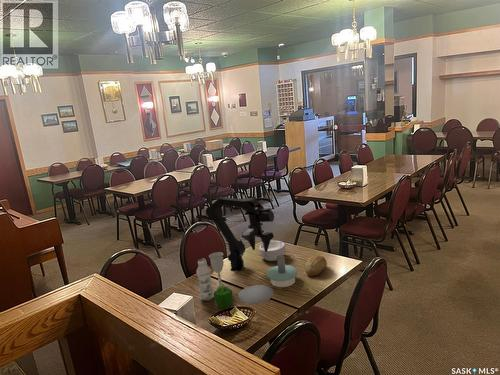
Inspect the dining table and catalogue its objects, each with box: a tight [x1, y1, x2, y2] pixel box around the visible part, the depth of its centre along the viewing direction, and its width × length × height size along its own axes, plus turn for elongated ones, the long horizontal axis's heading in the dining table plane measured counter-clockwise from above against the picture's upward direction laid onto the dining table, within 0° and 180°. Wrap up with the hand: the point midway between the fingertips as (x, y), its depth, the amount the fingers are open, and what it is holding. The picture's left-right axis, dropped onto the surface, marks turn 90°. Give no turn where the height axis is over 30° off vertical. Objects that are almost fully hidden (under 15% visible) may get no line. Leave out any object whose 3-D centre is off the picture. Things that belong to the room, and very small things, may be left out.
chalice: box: [208, 251, 226, 290], centre depth 176 cm, size 7×7×18 cm
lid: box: [266, 255, 298, 281], centre depth 175 cm, size 15×15×9 cm
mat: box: [237, 284, 275, 305], centre depth 168 cm, size 17×17×1 cm
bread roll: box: [304, 255, 328, 277], centre depth 183 cm, size 10×15×8 cm, turn 143°
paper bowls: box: [258, 240, 287, 262], centre depth 205 cm, size 15×15×8 cm
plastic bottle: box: [196, 258, 215, 302], centre depth 167 cm, size 6×7×20 cm
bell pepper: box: [213, 282, 234, 309], centre depth 160 cm, size 8×8×10 cm
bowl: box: [269, 276, 296, 288], centre depth 176 cm, size 12×12×4 cm
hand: (259, 250), depth 187 cm, fingers open, 9 cm apart
